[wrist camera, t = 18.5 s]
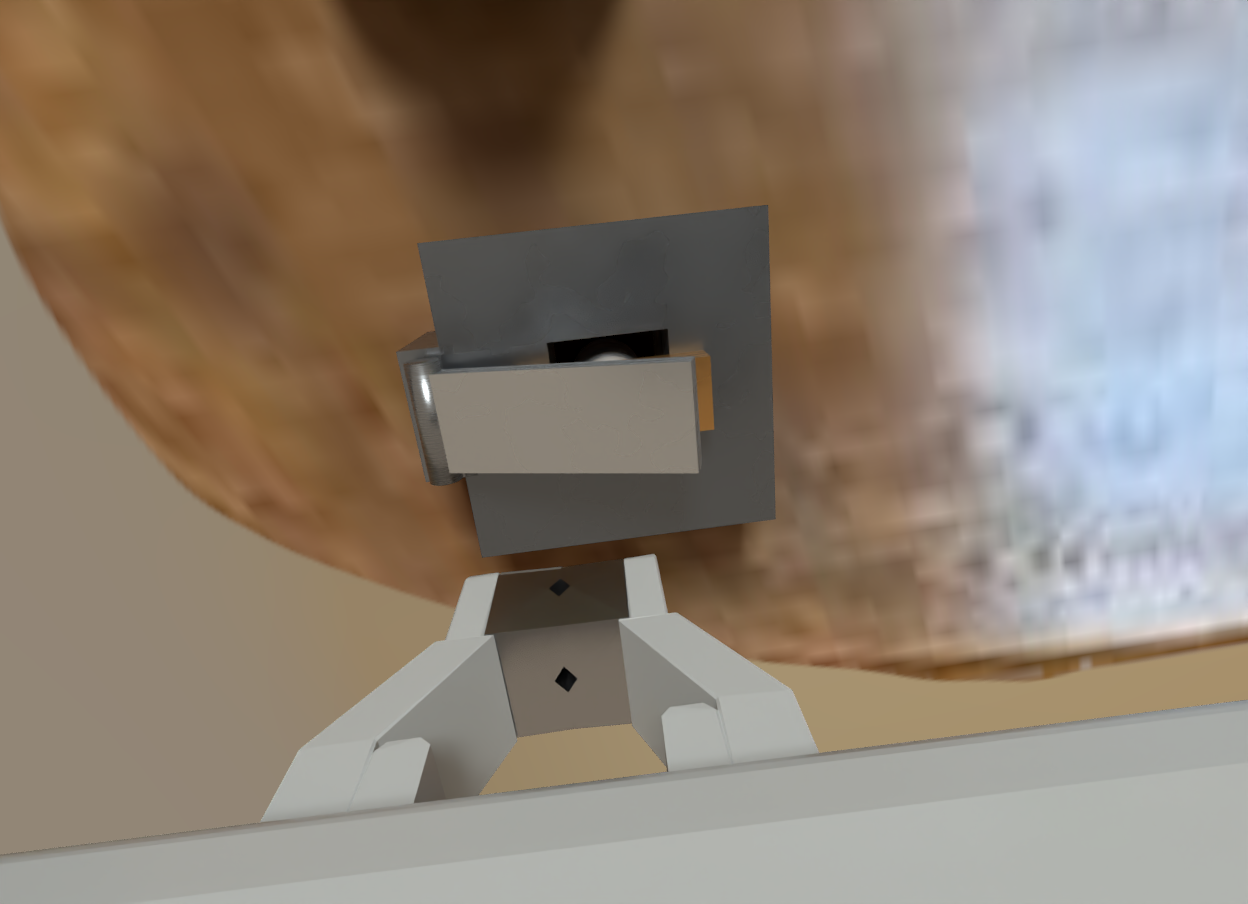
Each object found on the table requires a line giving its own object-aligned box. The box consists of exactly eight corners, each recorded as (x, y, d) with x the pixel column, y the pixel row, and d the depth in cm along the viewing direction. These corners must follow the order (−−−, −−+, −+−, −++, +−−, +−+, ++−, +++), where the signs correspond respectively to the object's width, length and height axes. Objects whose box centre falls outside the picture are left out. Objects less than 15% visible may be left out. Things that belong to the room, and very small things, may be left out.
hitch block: (732, 211, 26) (768, 204, 21) (743, 475, 30) (775, 519, 25) (409, 246, 25) (372, 248, 20) (465, 510, 29) (444, 562, 24)
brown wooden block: (682, 329, 27) (710, 351, 21) (687, 396, 28) (714, 433, 22) (522, 347, 26) (509, 374, 21) (532, 414, 27) (522, 456, 22)
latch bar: (695, 341, 19) (688, 349, 18) (703, 473, 20) (698, 487, 19) (415, 358, 22) (395, 365, 21) (440, 473, 23) (423, 485, 22)
